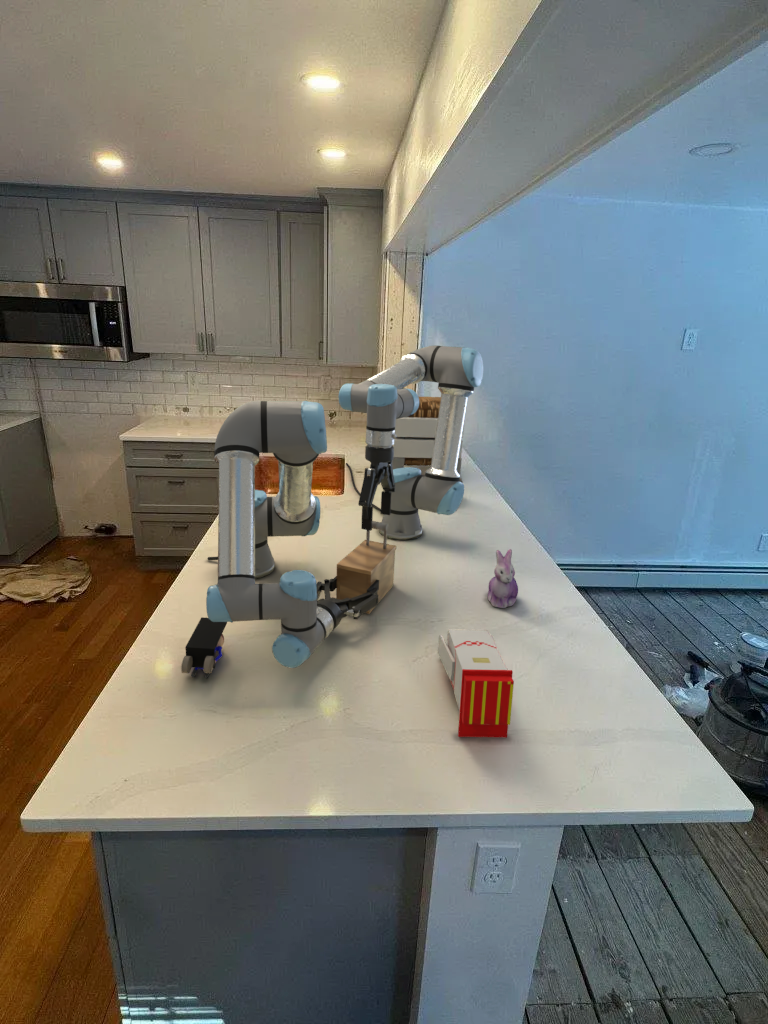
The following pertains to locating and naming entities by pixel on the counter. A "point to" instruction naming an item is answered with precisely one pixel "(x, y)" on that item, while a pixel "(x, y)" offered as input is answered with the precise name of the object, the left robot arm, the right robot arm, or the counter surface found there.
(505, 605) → the figurine
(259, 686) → the counter surface
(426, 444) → the grey wooden crate
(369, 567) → the lid
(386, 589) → the chest
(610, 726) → the counter surface
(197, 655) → the figurine character
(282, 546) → the counter surface
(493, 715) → the toy
